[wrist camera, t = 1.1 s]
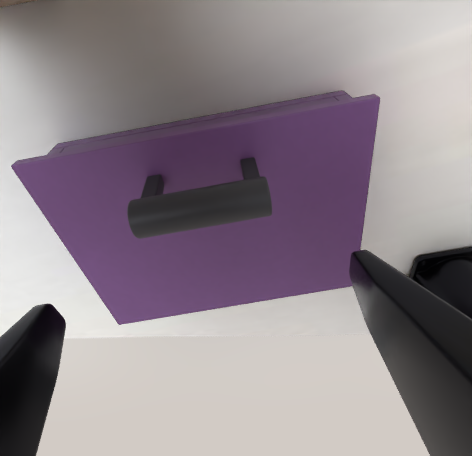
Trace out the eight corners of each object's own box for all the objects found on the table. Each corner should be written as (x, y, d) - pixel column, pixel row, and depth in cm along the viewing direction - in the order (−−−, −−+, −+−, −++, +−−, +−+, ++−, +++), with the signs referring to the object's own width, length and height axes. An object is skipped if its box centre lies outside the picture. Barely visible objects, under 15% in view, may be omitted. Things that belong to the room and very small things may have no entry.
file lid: (16, 160, 14) (-45, 215, 11) (374, 93, 14) (432, 129, 10) (120, 318, 22) (104, 379, 18) (352, 279, 21) (381, 335, 18)
